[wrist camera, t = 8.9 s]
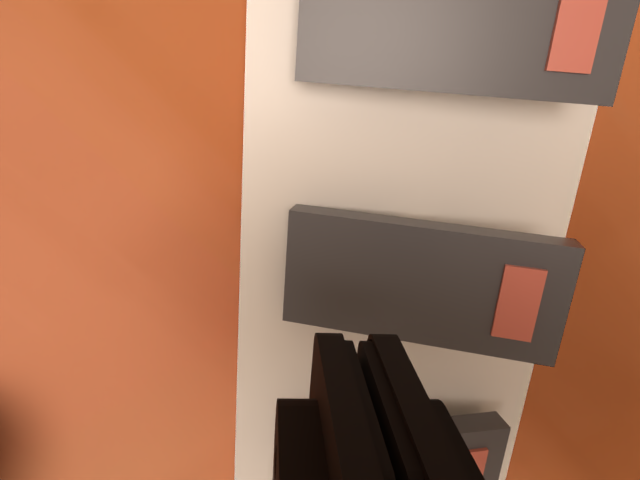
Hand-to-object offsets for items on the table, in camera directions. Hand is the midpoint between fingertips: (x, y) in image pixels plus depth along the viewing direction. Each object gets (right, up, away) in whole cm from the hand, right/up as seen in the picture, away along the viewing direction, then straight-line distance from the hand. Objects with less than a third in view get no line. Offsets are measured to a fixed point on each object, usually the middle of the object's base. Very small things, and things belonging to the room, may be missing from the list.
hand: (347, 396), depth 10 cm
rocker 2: (+3, +2, +6) cm, 7 cm away
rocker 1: (+3, +9, +4) cm, 11 cm away
